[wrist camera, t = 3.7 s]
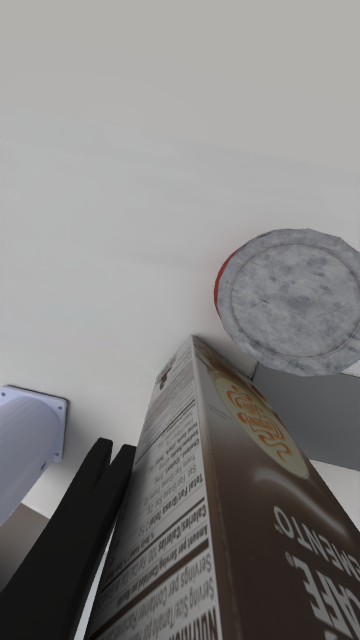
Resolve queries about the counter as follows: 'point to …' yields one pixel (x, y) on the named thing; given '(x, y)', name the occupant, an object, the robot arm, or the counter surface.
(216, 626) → the coffee box
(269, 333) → the canned food
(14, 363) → the counter surface
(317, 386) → the mat
